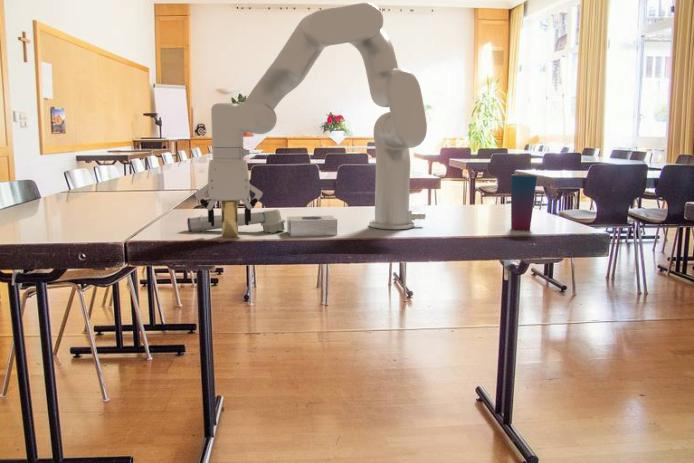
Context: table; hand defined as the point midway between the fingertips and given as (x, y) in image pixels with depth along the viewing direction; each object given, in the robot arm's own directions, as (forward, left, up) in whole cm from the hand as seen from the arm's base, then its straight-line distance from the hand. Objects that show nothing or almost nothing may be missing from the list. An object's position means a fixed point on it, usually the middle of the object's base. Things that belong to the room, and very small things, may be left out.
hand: (229, 224), depth 148 cm
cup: (-79, +4, -3) cm, 79 cm away
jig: (-21, -1, -3) cm, 21 cm away
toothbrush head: (-2, -7, -4) cm, 8 cm away
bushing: (0, 0, -3) cm, 3 cm away
